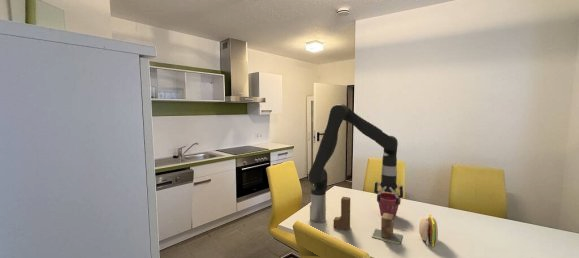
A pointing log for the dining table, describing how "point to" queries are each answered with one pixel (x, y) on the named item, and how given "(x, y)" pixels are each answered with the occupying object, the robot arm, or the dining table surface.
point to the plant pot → (388, 204)
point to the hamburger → (428, 230)
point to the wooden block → (343, 215)
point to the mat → (395, 239)
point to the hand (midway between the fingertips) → (388, 202)
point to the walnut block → (387, 226)
